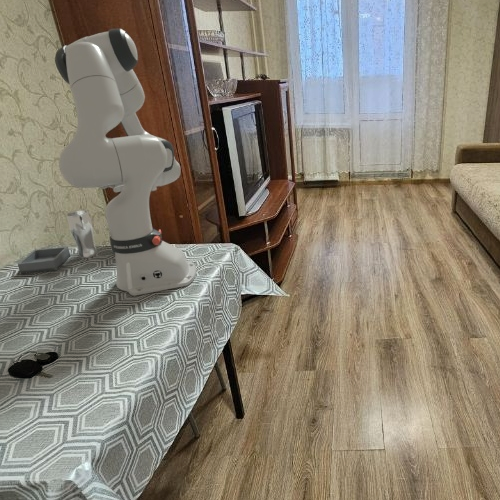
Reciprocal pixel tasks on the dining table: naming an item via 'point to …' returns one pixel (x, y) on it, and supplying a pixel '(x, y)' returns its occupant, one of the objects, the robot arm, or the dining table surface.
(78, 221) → the silver tall rounded piece
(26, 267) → the box
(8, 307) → the dining table surface
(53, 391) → the dining table surface
